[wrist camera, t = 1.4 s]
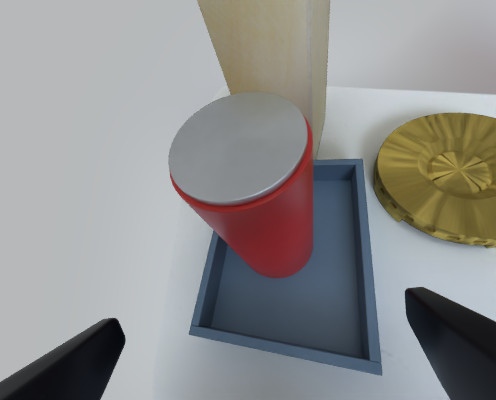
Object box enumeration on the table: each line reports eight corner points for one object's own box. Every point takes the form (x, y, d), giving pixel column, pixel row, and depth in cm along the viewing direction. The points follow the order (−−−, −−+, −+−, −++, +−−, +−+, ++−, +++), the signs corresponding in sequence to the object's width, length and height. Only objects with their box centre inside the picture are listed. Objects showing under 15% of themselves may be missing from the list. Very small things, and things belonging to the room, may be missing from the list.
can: (312, 283, 18) (310, 210, 7) (236, 273, 20) (142, 204, 9) (314, 210, 21) (314, 80, 10) (247, 208, 23) (187, 96, 12)
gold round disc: (388, 122, 25) (394, 105, 23) (545, 143, 20) (568, 124, 18) (357, 217, 20) (361, 206, 19) (545, 275, 15) (576, 268, 14)
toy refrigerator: (266, 115, 30) (196, -203, 12) (325, 116, 27) (347, -287, 9) (248, 164, 26) (115, -173, 9) (313, 171, 24) (313, -288, 6)
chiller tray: (370, 368, 15) (382, 376, 13) (205, 333, 19) (188, 334, 16) (356, 178, 22) (362, 158, 20) (238, 179, 26) (229, 162, 23)
